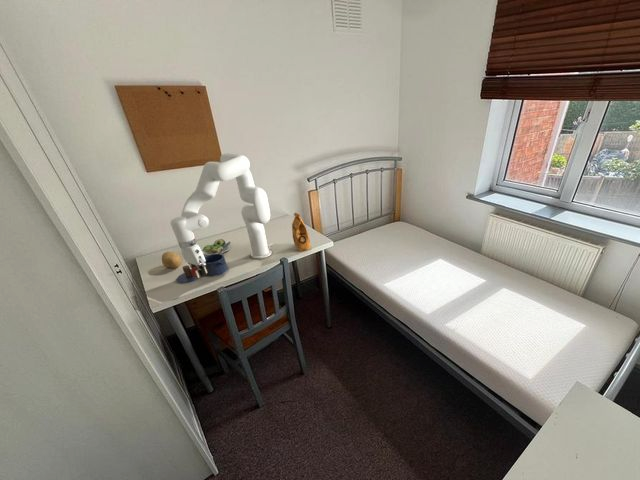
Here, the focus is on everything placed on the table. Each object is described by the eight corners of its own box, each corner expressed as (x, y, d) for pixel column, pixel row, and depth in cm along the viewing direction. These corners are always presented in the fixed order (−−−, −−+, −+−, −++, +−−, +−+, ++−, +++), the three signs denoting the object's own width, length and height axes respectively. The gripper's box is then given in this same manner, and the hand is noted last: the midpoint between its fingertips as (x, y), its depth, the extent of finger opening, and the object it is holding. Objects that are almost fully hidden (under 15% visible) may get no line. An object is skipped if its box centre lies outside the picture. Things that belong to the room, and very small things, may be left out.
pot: (214, 264, 172) (210, 251, 168) (235, 270, 166) (231, 256, 161) (197, 273, 163) (193, 259, 159) (219, 279, 157) (214, 266, 153)
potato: (168, 273, 163) (163, 261, 159) (161, 265, 172) (156, 253, 167) (187, 267, 169) (182, 255, 165) (179, 259, 177) (175, 247, 173)
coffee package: (296, 252, 183) (291, 219, 172) (293, 244, 193) (288, 212, 182) (311, 250, 186) (307, 217, 175) (308, 242, 196) (304, 210, 185)
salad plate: (234, 253, 183) (232, 247, 181) (203, 260, 176) (200, 253, 174) (230, 242, 198) (229, 236, 196) (201, 248, 191) (199, 241, 188)
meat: (202, 271, 155) (199, 264, 152) (207, 272, 153) (204, 266, 151) (192, 276, 151) (190, 269, 148) (198, 278, 149) (195, 271, 147)
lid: (192, 270, 166) (188, 259, 162) (207, 275, 161) (203, 263, 158) (172, 281, 157) (167, 269, 153) (187, 286, 152) (182, 274, 148)
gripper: (206, 242, 142) (217, 274, 151) (183, 236, 148) (195, 267, 158) (192, 249, 136) (205, 281, 146) (169, 243, 142) (182, 274, 152)
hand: (200, 274), depth 152 cm, fingers closed on meat, 4 cm apart
